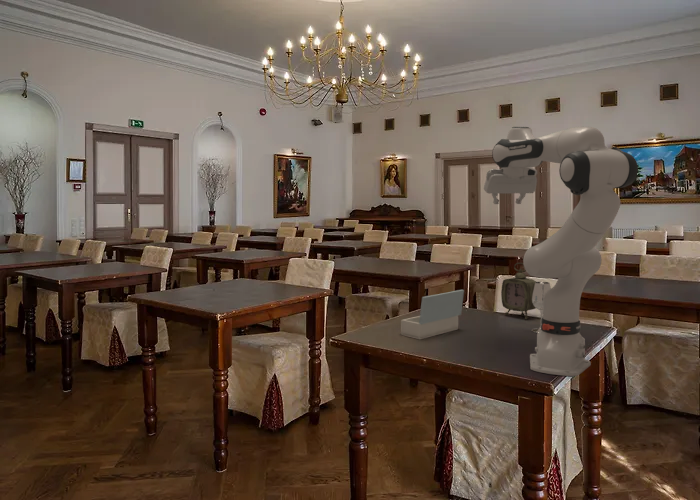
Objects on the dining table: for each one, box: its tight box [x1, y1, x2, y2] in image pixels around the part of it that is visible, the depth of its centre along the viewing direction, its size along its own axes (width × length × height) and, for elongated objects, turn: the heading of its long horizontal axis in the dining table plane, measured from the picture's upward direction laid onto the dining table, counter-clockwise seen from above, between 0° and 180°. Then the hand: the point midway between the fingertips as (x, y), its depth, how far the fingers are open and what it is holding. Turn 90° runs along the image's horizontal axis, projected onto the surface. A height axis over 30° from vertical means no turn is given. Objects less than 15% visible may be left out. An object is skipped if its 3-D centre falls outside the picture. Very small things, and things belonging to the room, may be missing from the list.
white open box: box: [400, 315, 459, 340], centre depth 217 cm, size 10×24×6 cm, turn 131°
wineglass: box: [531, 281, 552, 334], centre depth 215 cm, size 8×8×20 cm
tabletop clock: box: [501, 262, 537, 320], centre depth 242 cm, size 14×9×25 cm, turn 37°
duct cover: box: [419, 289, 465, 324], centre depth 211 cm, size 11×25×1 cm
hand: (507, 203), depth 207 cm, fingers open, 8 cm apart
